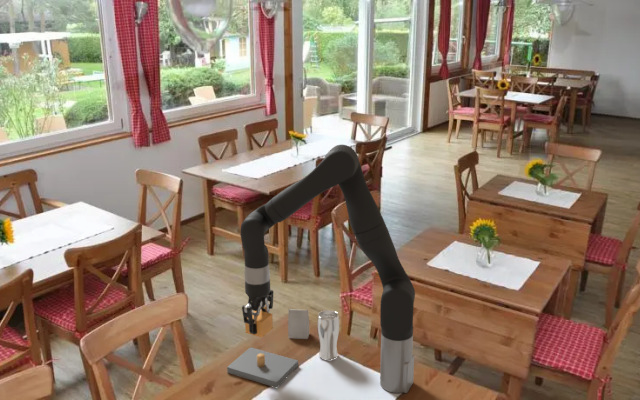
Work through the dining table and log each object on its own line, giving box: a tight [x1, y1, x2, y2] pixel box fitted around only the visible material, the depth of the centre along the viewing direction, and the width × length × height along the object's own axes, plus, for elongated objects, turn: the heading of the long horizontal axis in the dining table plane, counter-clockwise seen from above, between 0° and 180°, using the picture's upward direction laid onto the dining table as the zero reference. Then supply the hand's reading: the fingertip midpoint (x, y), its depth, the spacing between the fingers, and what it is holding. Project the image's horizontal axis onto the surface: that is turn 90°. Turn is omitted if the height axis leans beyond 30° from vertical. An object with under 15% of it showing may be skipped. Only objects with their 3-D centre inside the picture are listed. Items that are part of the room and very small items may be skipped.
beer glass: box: [316, 309, 340, 360], centre depth 190 cm, size 7×7×15 cm
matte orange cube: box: [244, 310, 274, 338], centre depth 180 cm, size 6×6×5 cm
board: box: [226, 347, 299, 388], centre depth 185 cm, size 18×13×6 cm
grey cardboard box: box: [287, 308, 310, 340], centre depth 204 cm, size 4×7×10 cm, turn 83°
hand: (259, 328), depth 180 cm, fingers closed on matte orange cube, 6 cm apart
